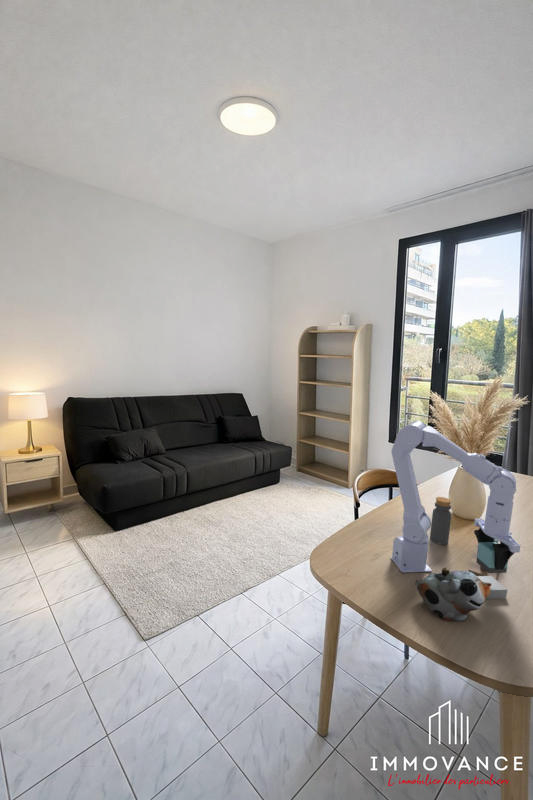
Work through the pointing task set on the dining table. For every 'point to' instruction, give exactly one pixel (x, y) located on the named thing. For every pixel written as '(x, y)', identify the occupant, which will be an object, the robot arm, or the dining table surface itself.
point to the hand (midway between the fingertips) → (491, 562)
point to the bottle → (441, 521)
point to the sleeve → (488, 557)
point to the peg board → (476, 568)
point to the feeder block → (494, 587)
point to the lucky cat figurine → (453, 593)
